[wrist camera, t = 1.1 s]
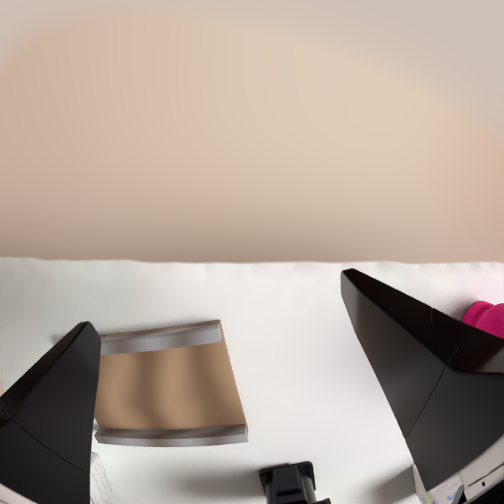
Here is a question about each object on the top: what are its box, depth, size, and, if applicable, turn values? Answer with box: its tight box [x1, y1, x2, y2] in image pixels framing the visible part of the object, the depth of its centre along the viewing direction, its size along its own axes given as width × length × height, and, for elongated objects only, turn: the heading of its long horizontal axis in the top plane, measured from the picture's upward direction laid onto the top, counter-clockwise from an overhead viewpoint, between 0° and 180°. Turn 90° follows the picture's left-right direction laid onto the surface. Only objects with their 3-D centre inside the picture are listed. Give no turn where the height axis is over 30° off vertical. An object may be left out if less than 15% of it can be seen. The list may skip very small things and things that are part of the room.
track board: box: [94, 320, 248, 447], centre depth 25 cm, size 18×13×2 cm
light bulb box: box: [412, 464, 462, 504], centre depth 23 cm, size 11×7×11 cm, turn 24°
